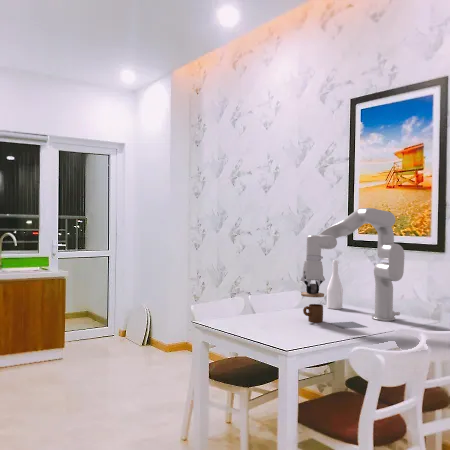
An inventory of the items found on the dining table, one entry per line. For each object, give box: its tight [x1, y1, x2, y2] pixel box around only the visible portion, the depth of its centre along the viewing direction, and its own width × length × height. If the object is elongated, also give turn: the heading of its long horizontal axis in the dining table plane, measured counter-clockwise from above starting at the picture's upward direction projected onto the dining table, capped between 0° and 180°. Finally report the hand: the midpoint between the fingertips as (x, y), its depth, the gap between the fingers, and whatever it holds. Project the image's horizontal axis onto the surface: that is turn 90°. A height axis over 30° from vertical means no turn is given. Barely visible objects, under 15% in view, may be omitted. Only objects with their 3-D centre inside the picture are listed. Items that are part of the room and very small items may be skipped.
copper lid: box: [300, 282, 325, 298], centre depth 263 cm, size 12×12×6 cm
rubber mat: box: [328, 321, 368, 330], centre depth 256 cm, size 15×14×1 cm
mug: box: [302, 303, 324, 324], centre depth 263 cm, size 12×8×9 cm, turn 119°
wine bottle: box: [326, 259, 344, 310], centre depth 311 cm, size 10×10×30 cm
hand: (312, 292), depth 263 cm, fingers closed on copper lid, 4 cm apart
